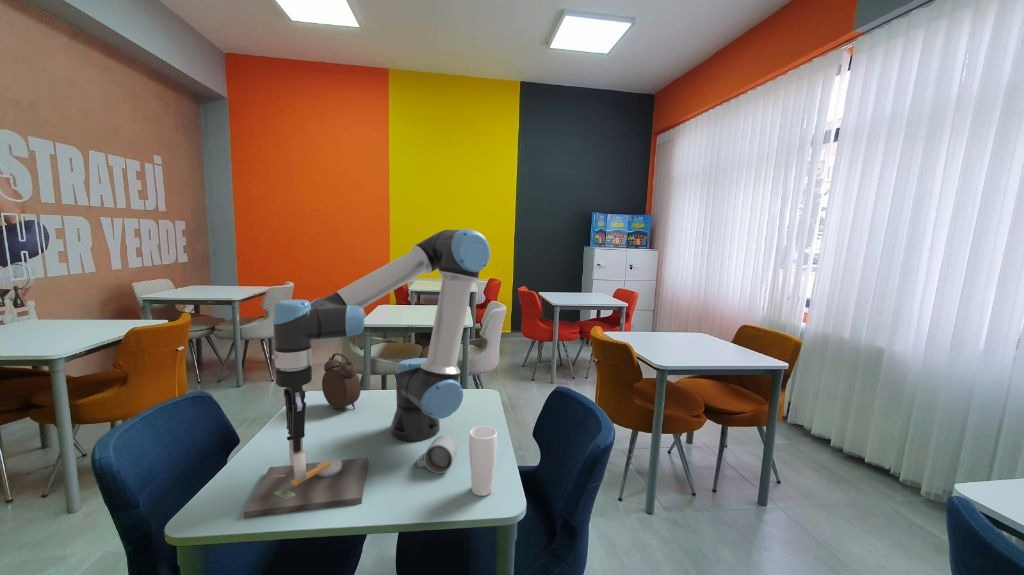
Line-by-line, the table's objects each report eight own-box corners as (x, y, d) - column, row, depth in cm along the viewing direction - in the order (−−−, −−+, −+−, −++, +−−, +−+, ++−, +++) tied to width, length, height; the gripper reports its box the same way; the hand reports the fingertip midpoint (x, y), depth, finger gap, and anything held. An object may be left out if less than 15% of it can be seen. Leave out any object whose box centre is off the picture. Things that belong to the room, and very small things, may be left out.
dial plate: (368, 462, 113) (368, 457, 113) (361, 503, 95) (361, 496, 95) (270, 472, 107) (269, 466, 107) (243, 518, 89) (243, 511, 89)
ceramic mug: (458, 458, 116) (458, 432, 115) (452, 474, 108) (452, 446, 107) (421, 456, 117) (420, 430, 116) (412, 472, 109) (412, 444, 108)
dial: (331, 462, 110) (330, 432, 109) (347, 468, 107) (346, 437, 106) (284, 487, 98) (283, 454, 97) (301, 495, 95) (300, 461, 94)
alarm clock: (364, 409, 148) (363, 354, 145) (346, 416, 141) (345, 359, 139) (338, 400, 155) (337, 348, 153) (320, 406, 149) (319, 352, 147)
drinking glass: (499, 496, 99) (500, 437, 98) (471, 501, 97) (472, 440, 96) (492, 480, 106) (493, 424, 104) (466, 484, 104) (466, 427, 102)
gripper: (271, 361, 99) (274, 455, 102) (279, 377, 89) (283, 480, 92) (305, 357, 104) (307, 446, 107) (317, 371, 94) (319, 469, 96)
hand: (296, 462), depth 99 cm, fingers closed
